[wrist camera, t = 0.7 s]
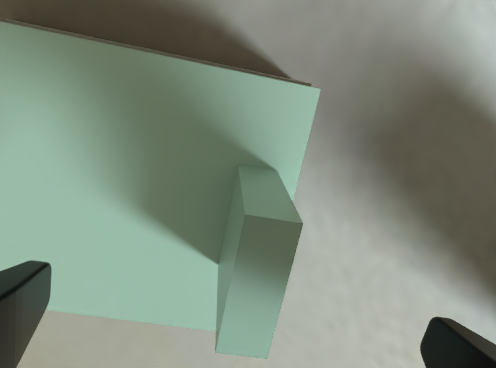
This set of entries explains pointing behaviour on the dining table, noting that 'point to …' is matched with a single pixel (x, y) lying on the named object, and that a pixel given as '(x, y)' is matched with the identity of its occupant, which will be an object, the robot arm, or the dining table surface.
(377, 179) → the dining table surface
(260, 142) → the lid
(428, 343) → the robot arm
